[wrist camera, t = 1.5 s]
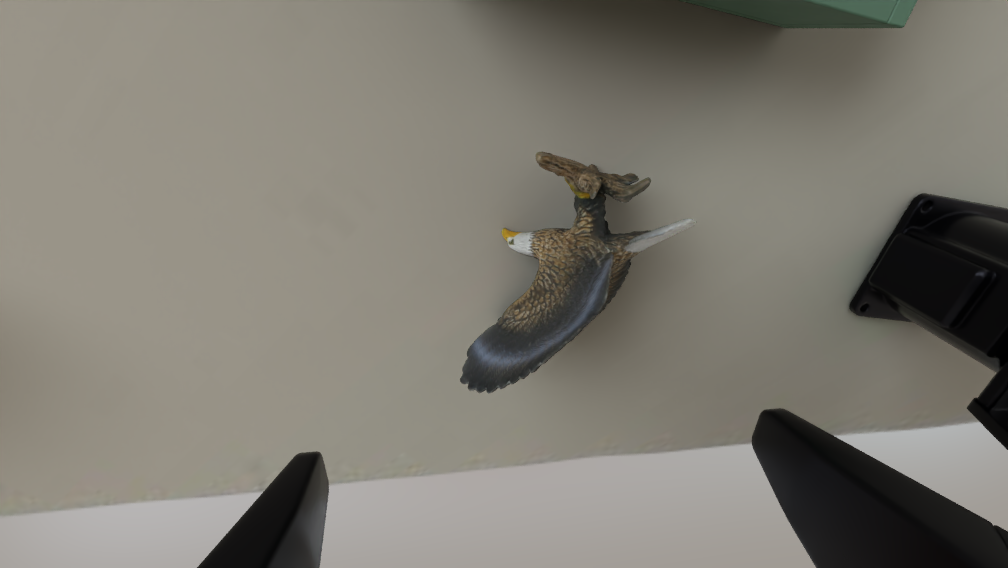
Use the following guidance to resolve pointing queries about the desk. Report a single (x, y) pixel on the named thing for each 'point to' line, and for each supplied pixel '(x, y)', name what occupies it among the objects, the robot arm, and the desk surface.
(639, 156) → the desk surface
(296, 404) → the desk surface
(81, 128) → the desk surface
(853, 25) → the bin
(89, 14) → the desk surface
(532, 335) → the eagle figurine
